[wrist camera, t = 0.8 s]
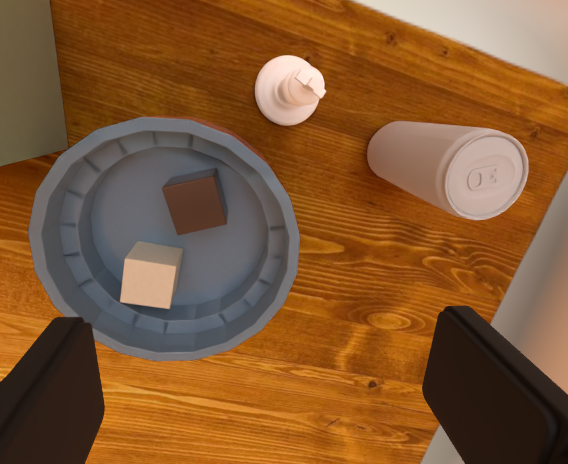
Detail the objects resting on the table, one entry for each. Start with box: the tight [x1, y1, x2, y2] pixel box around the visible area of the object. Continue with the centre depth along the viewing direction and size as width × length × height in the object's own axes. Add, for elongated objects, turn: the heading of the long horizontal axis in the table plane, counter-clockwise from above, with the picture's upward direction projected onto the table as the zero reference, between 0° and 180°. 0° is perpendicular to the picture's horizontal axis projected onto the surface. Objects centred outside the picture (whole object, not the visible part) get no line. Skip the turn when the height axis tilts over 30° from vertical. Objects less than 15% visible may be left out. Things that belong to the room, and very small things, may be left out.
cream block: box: [120, 241, 183, 309], centre depth 28 cm, size 4×4×4 cm
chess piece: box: [255, 55, 326, 126], centre depth 23 cm, size 5×5×10 cm
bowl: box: [28, 115, 300, 361], centre depth 27 cm, size 18×18×6 cm
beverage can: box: [367, 121, 529, 220], centre depth 24 cm, size 5×5×12 cm
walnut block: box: [162, 168, 228, 235], centre depth 27 cm, size 4×4×4 cm
